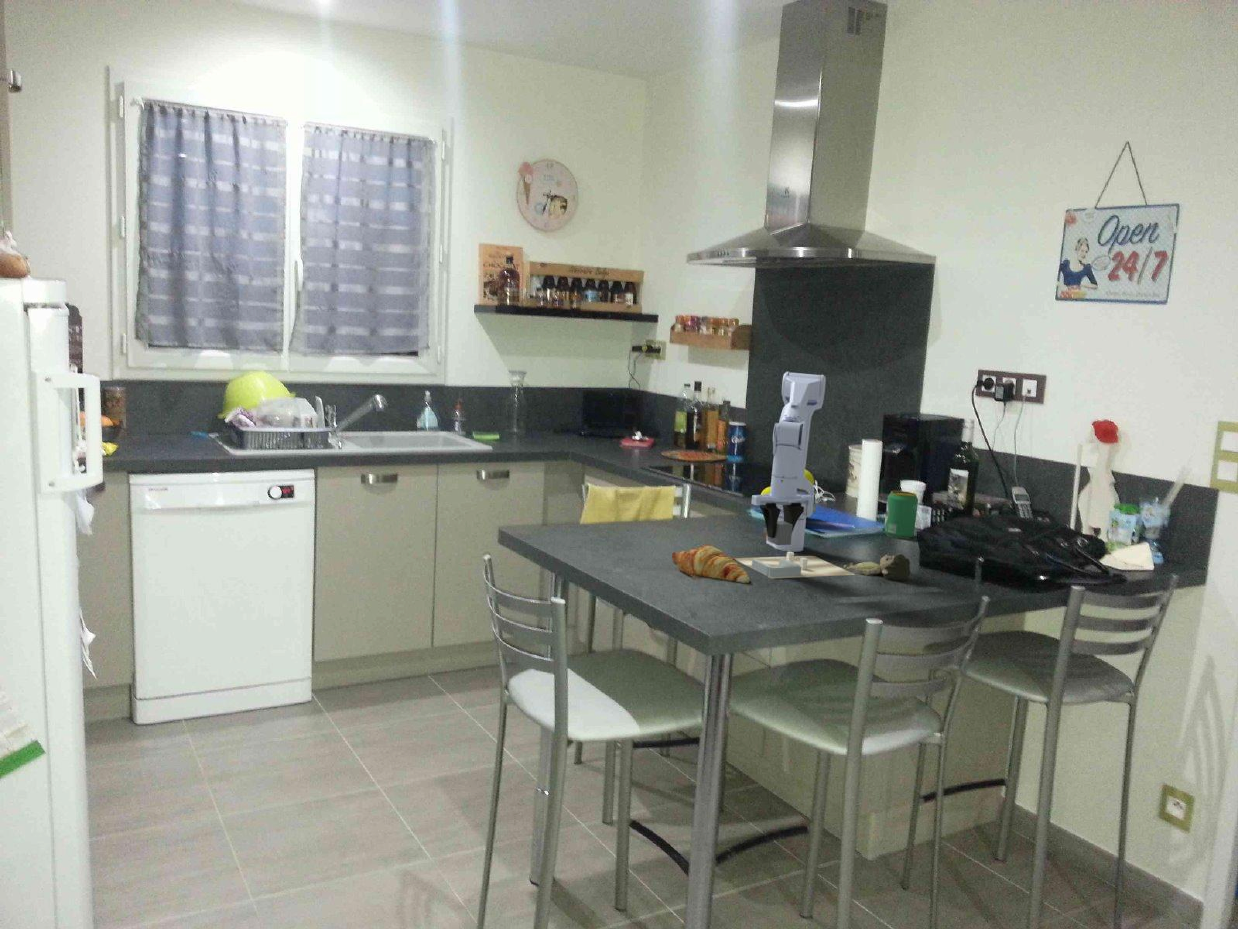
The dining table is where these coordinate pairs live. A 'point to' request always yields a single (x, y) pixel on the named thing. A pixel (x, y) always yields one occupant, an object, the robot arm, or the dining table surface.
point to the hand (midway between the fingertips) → (778, 536)
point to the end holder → (777, 568)
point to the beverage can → (901, 514)
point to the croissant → (710, 564)
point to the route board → (814, 565)
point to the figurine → (885, 567)
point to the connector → (781, 534)
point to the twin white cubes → (802, 560)
